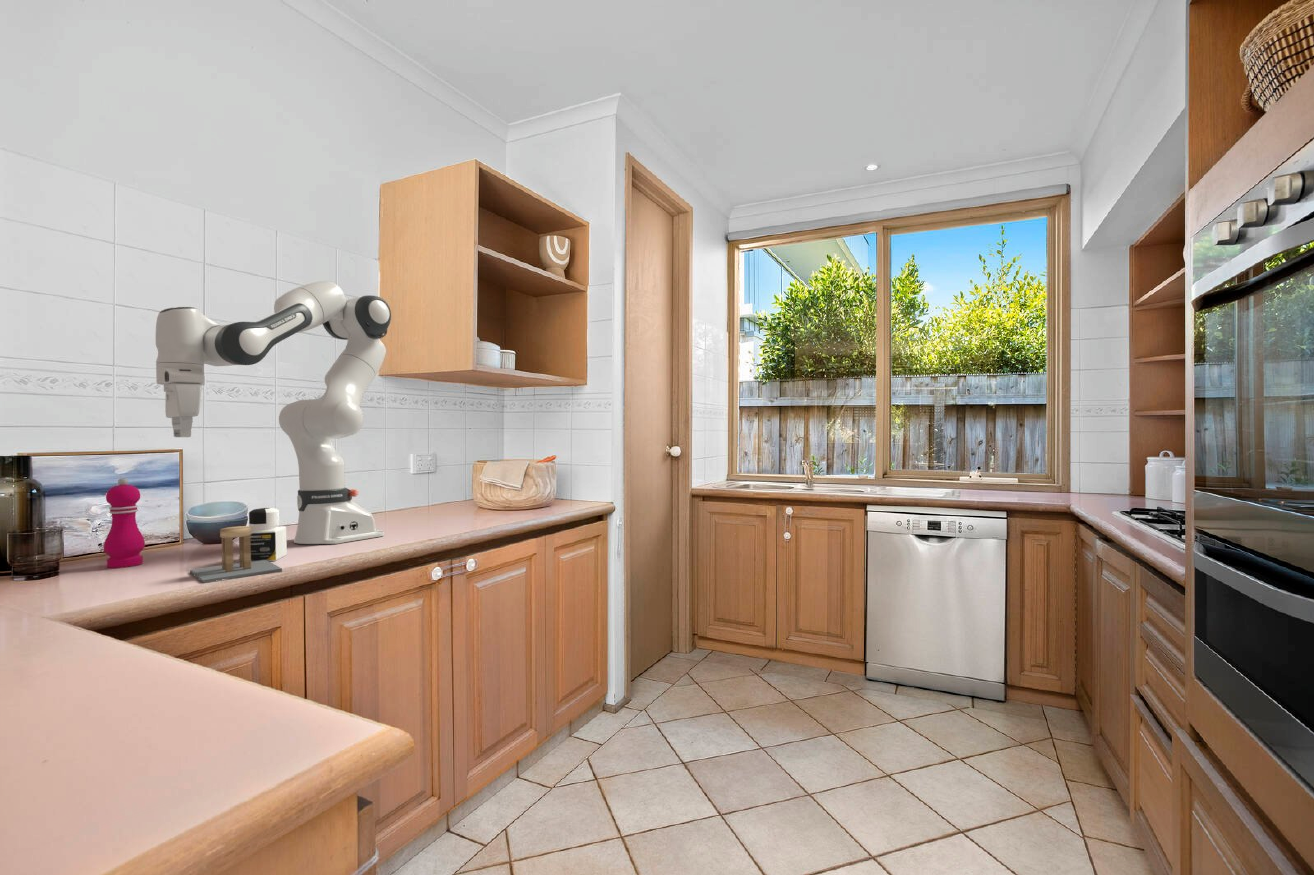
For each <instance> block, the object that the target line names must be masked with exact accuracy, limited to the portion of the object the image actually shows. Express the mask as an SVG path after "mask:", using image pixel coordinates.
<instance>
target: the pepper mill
mask: <svg viewBox="0 0 1314 875" xmlns="http://www.w3.org/2000/svg"><path fill="white" fill-rule="evenodd" d="M128 483H129V480H128V479H127V478H126V477H121V478H119V479H118V481H117V484H118V485H115V486H112V487H111V488H109V489H108V490H107V492H106V494H105V500H106V502H107V503H108V504H109V505H110V507H109V512H108V513H109V514H111V519H112V520H111V525H110V529H109V531H108V533H107V536H106V538H105V540H104V543H103V552H104V553H105V554H106V555H107V556H109V558H107V559H106V567H107V568H108V567H109V568H108V569H120V568H121V567H123V568H129V567H128V566H130V567H135V566H140V565H142V564H143V561H144V558H143V555H142V554H140V553H141V552H142V551H143V550H144V549H145V548H146V543H145V538H144V535H143V534H142V533H141V530H140V529H139V527H138V523H137V520H136V515H137V512H138V511H139V510H138V508H139V506H138V505H136V504H137V503H138V502H139V501H140V499H141V493H140V490H139V489H138V488H137V487H136V486H134V485H131V484H128Z"/></svg>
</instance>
